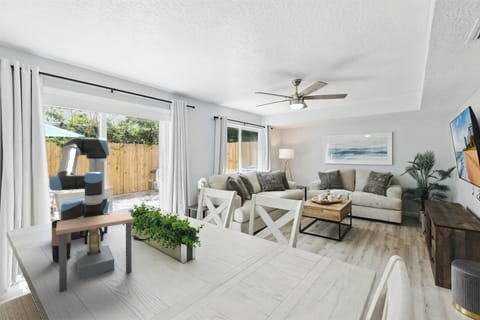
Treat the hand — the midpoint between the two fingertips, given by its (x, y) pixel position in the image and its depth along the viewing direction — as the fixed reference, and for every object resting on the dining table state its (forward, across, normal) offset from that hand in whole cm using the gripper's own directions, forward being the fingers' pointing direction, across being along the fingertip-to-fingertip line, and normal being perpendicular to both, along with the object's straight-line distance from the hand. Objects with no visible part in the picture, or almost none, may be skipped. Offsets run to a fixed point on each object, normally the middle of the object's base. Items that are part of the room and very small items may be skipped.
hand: (94, 249), depth 113 cm
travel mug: (+7, -13, +13) cm, 20 cm away
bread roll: (+7, +29, +21) cm, 36 cm away
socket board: (+7, 0, -4) cm, 8 cm away
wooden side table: (+7, 0, -14) cm, 15 cm away
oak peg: (+4, 0, 0) cm, 4 cm away
